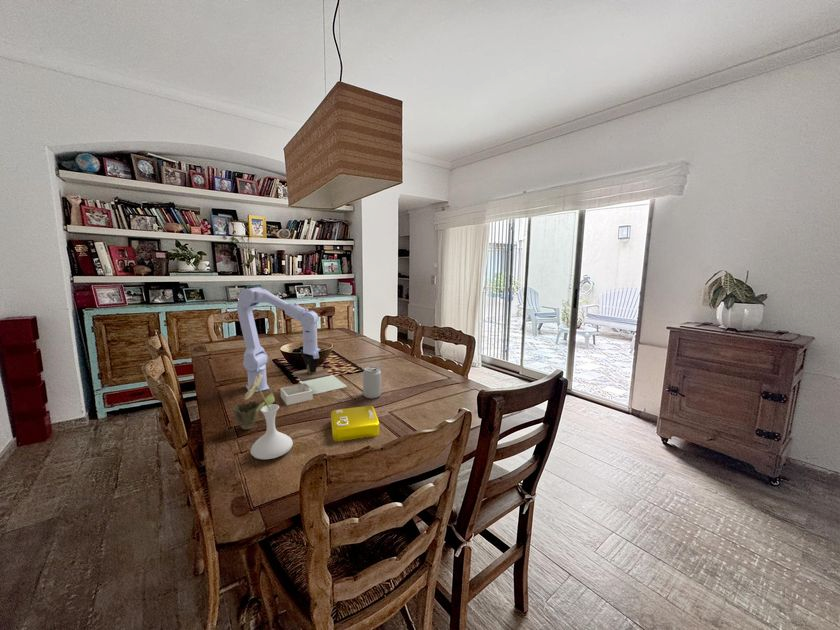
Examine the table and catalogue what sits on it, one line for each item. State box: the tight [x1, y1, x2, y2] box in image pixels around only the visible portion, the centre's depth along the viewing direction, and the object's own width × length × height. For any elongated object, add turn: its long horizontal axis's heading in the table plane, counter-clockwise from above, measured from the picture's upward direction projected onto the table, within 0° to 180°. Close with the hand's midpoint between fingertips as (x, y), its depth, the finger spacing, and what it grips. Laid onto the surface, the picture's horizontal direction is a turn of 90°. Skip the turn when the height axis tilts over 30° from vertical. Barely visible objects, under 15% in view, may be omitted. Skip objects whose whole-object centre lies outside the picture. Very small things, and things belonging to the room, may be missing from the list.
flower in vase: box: [244, 374, 294, 460], centre depth 93 cm, size 13×11×25 cm
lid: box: [292, 365, 331, 382], centre depth 140 cm, size 12×12×4 cm
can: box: [362, 366, 382, 399], centre depth 136 cm, size 8×8×12 cm
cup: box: [232, 400, 260, 431], centre depth 108 cm, size 8×7×8 cm
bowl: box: [279, 383, 314, 406], centre depth 132 cm, size 10×10×4 cm
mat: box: [299, 374, 348, 395], centre depth 148 cm, size 18×16×1 cm
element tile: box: [330, 405, 380, 442], centre depth 110 cm, size 15×15×5 cm
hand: (311, 370), depth 140 cm, fingers closed on lid, 4 cm apart
